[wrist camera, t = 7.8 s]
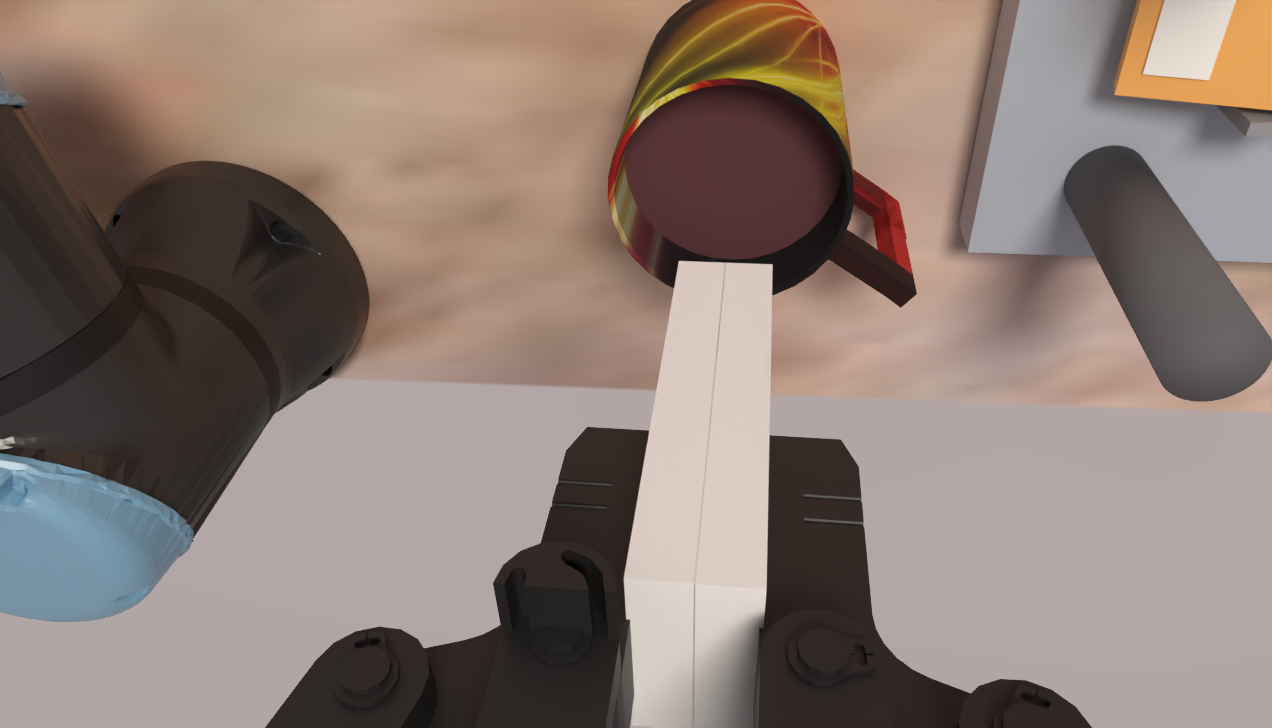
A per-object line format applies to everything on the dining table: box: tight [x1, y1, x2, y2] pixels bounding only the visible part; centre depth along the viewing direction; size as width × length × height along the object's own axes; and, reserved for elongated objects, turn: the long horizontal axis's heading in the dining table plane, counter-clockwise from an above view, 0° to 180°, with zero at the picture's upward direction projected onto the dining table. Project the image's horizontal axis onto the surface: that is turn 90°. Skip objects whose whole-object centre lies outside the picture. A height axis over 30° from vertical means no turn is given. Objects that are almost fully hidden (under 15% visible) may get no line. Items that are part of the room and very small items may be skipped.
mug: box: [608, 0, 917, 307], centre depth 41 cm, size 10×14×12 cm
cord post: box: [1064, 145, 1272, 401], centre depth 38 cm, size 4×4×14 cm
